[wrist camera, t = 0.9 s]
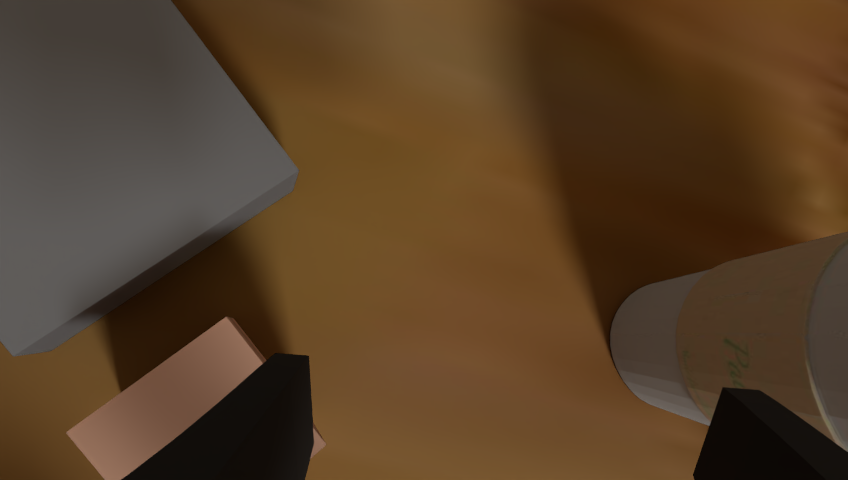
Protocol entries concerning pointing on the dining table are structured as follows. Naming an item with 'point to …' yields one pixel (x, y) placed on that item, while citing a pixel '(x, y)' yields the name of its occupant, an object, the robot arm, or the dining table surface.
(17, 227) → the charcoal plinth
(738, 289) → the coffee cup
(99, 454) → the terracotta block
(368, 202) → the dining table surface
